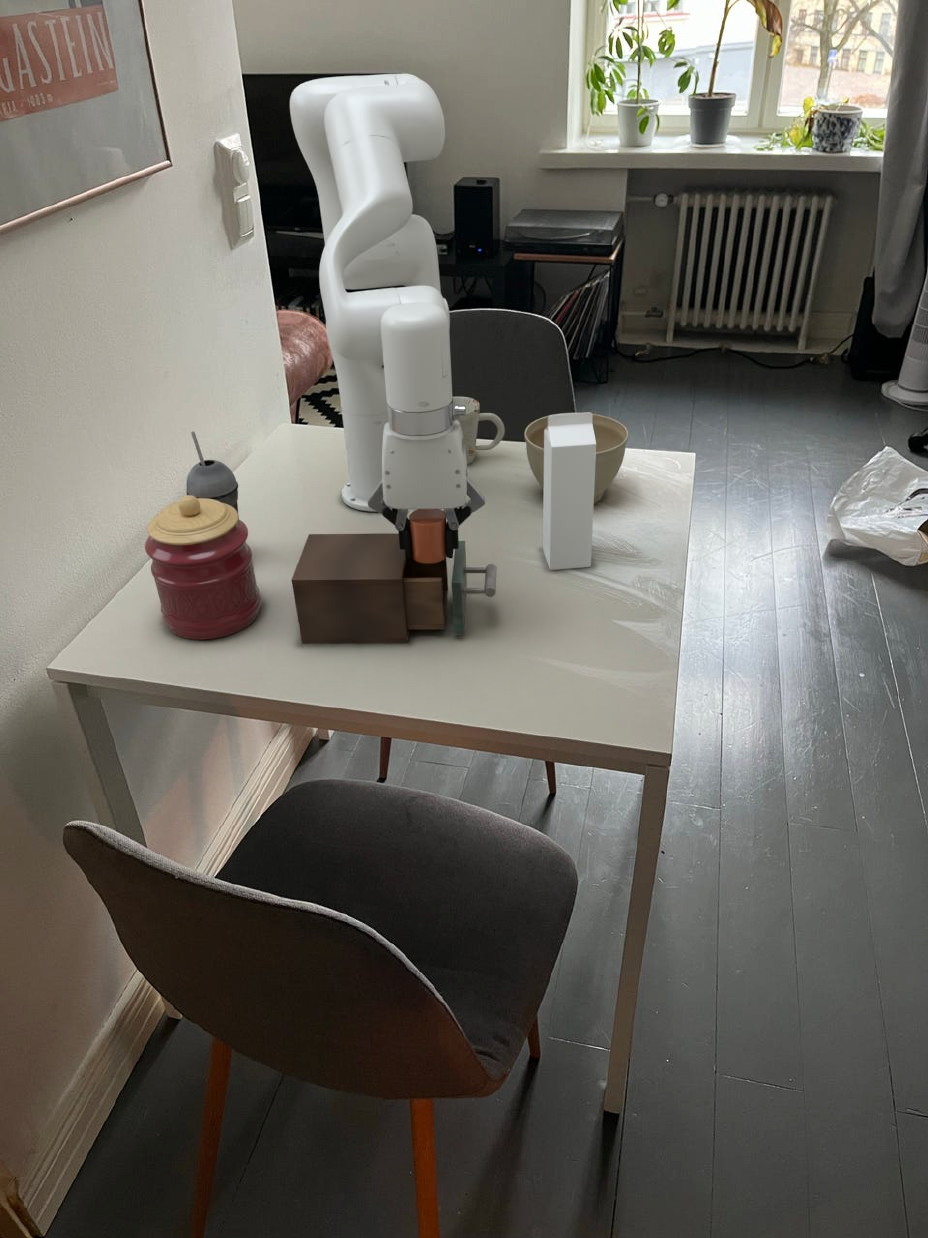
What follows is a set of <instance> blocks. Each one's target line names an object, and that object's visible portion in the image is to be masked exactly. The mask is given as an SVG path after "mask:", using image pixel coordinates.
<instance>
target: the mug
mask: <svg viewBox="0 0 928 1238" xmlns="http://www.w3.org/2000/svg"><path fill="white" fill-rule="evenodd" d="M452 397H453V402H455V404H459V406H461V405H465V410H466V415H465V417H459V418H456V420H457V421H458V422H459V423H460V425H461V429H462V433H463V438H464V444H465V451H466V461H467V465H469V464H471V463H473V462H474V461H475V457H476V451H489V450H492V449H494V448H496V447H497V446H498V445H499V444H500V443H501V442H502V440H503V438H504V437H505V431H506V429H505V425H504V422H503V421H502V419H501V418H500V417H499V416H498V415H497V414H495V413H492V412H480V410H481V409H480V406H481V405H480V402H479V401H478V400H476V399H474V398H473V397H469V396H467V397H466V396H452ZM480 421H491V422H492V423H493V424H494V426H496V430H497V432H496V436H495V438H494V439H493V440H492V442H490V443H489V444H481V445H479V444H478V445H477V437H478V429H479V427H478V426H479V422H480Z"/></svg>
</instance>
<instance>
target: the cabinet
mask: <svg viewBox="0 0 928 1238" xmlns="http://www.w3.org/2000/svg"><path fill="white" fill-rule="evenodd" d="M406 562H407V559H405V550H400V544H399V532H398V533H397V532H390V533H389V532H387V533H385V532H384V533H378V532H377V533H310V534H308V536H307V538H306V541H305V543H304V546H303V548H302V551H301V555H300V556H299V559H298V562H297V564H296V566H295V570H294V572H293V575H292V578H291V585H292V591H293V598H294V603H295V609H296V615H297V622H298V627H299V632H300V634H299V635H300V640H301V644H408V640H409V636H410V629H407V624H406V612H405V601H404V589H403V577H404V572H405V567H406Z"/></svg>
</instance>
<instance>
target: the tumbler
mask: <svg viewBox="0 0 928 1238" xmlns="http://www.w3.org/2000/svg"><path fill="white" fill-rule="evenodd" d="M408 518H409V526H410V537H411V550H412V557H413V559H414V560H415V561H417V562H420V563H426V564H431V563H437V562H440V561H442V560H444V559H445V558H446V557H447V550H446V527H447V518H446V515H445V512H444V509H414V510H413V511H412V512H410V513H409V515H408ZM447 558H448V557H447Z"/></svg>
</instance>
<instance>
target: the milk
mask: <svg viewBox="0 0 928 1238" xmlns="http://www.w3.org/2000/svg"><path fill="white" fill-rule="evenodd" d="M572 413H573V414H561V413H558V414H559V415H554V414H550V415H548V416H549V417H548V427H547V428H546V429H545V430H544V489H543V501H542V502H543V506H542V507H543V509H542V510H543V511H542V513H543V515H542V519H543V520H542V522H543V523H542V526H543V527H542V529H543V530H542V551H543V554H544V557H545V560H546V563H547V565H548V569H549V571H556V570H557V571H558V570H559V571H560V570H569V569H570V570H571V569H581V568H591V567H592V549H593V527H594V504H595V503H594V483H595V460H596V440H595V434H594V429H593V424H592V418H593V415H592V414H593V413H592V412H589V411H587V412H572Z"/></svg>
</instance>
